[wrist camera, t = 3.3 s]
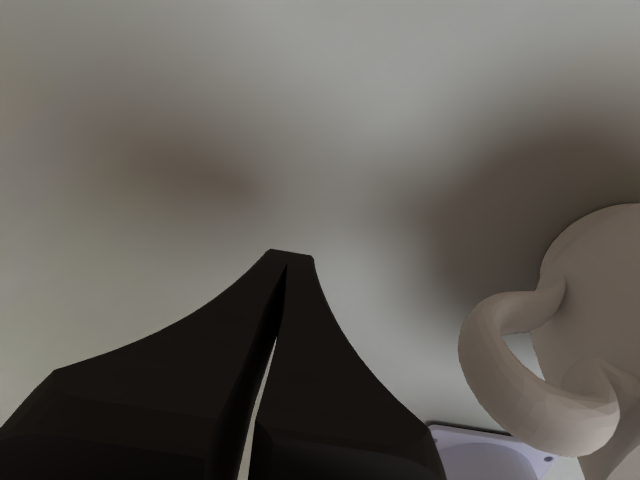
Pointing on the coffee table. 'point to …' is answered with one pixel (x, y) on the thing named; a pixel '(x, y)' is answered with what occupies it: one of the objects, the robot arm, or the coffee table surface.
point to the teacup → (569, 348)
